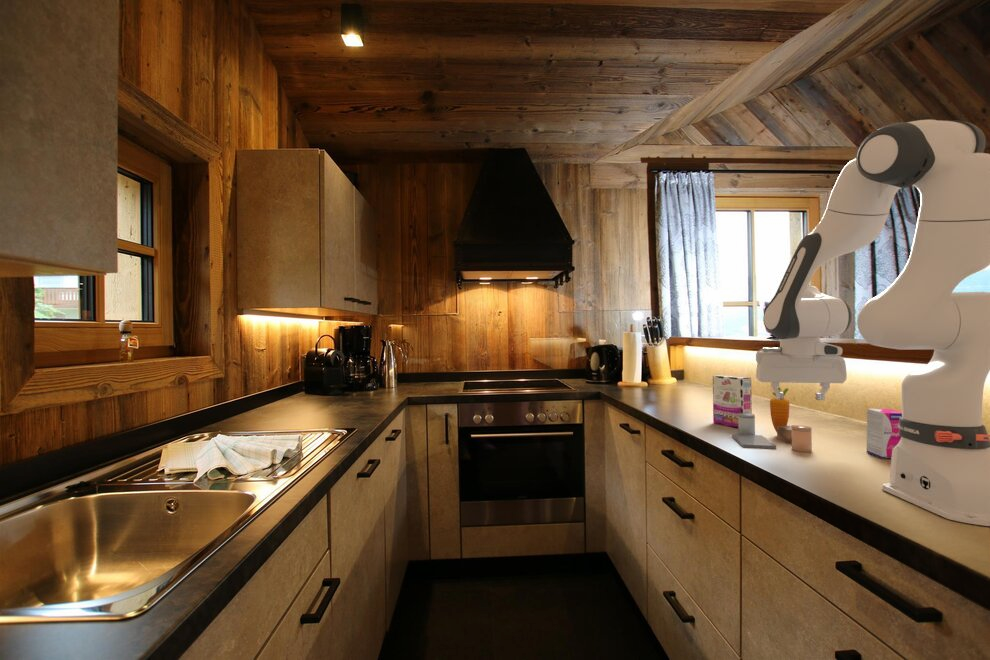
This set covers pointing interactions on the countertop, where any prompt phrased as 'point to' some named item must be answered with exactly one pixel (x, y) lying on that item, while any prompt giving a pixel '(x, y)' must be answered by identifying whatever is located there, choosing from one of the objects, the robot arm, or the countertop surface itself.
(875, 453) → the supplement box
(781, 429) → the walnut block
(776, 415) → the carrot
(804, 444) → the terracotta jar
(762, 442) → the slate coaster
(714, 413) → the candy bar box
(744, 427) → the grey-blue jar
